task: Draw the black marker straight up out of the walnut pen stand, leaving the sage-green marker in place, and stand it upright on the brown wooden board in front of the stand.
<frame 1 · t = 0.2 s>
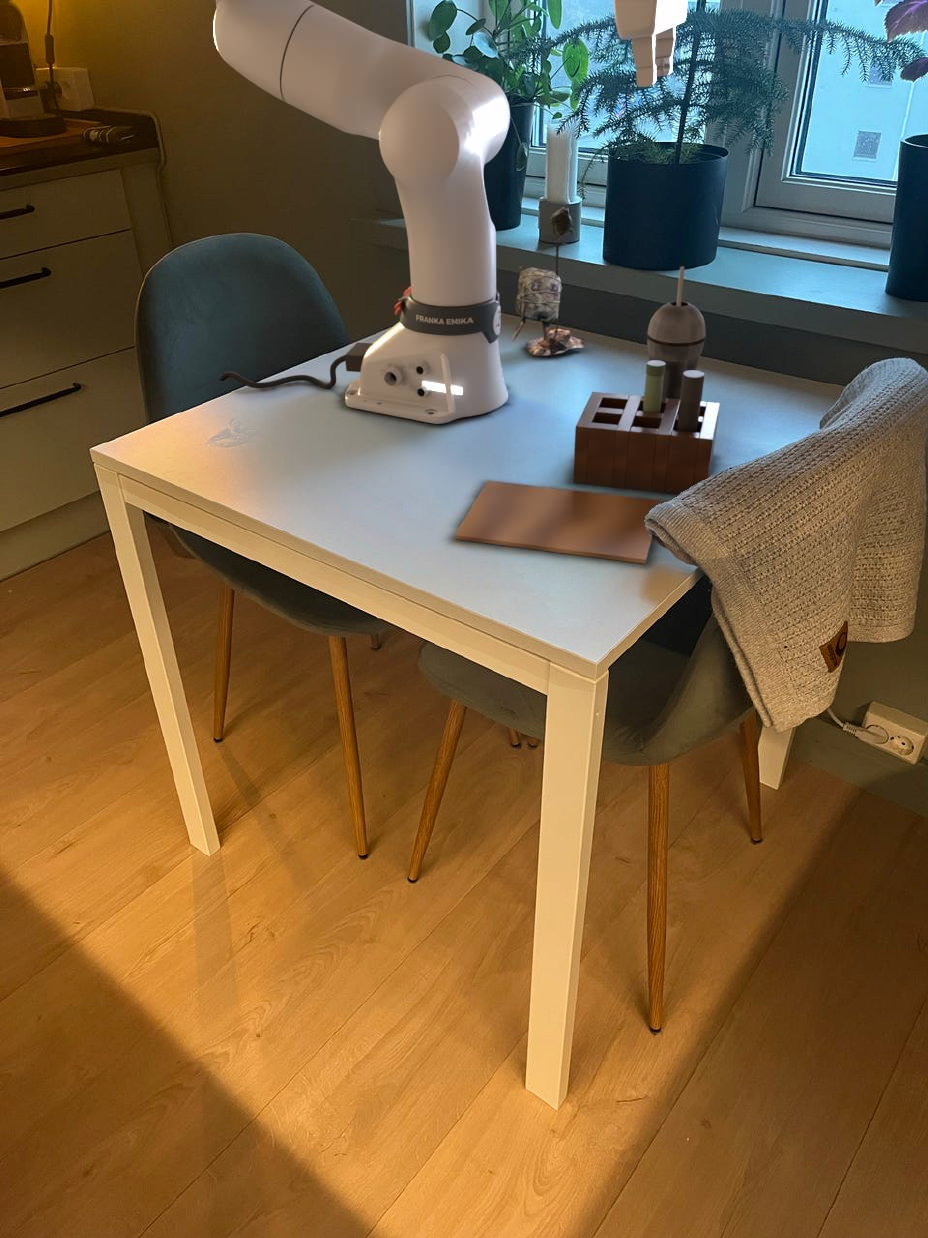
hand: (655, 80, 104), 39 cm above the table, tool pointing down, fingers open, 8 cm apart
beverage cup: (666, 425, 124), on the table
sage marker: (646, 461, 115), resting in pen stand
brown wooden board: (560, 521, 103), on the table
pen stand: (644, 469, 113), on the table
mottled grey tall piece: (547, 350, 148), on the table
black marker: (680, 482, 110), resting in pen stand
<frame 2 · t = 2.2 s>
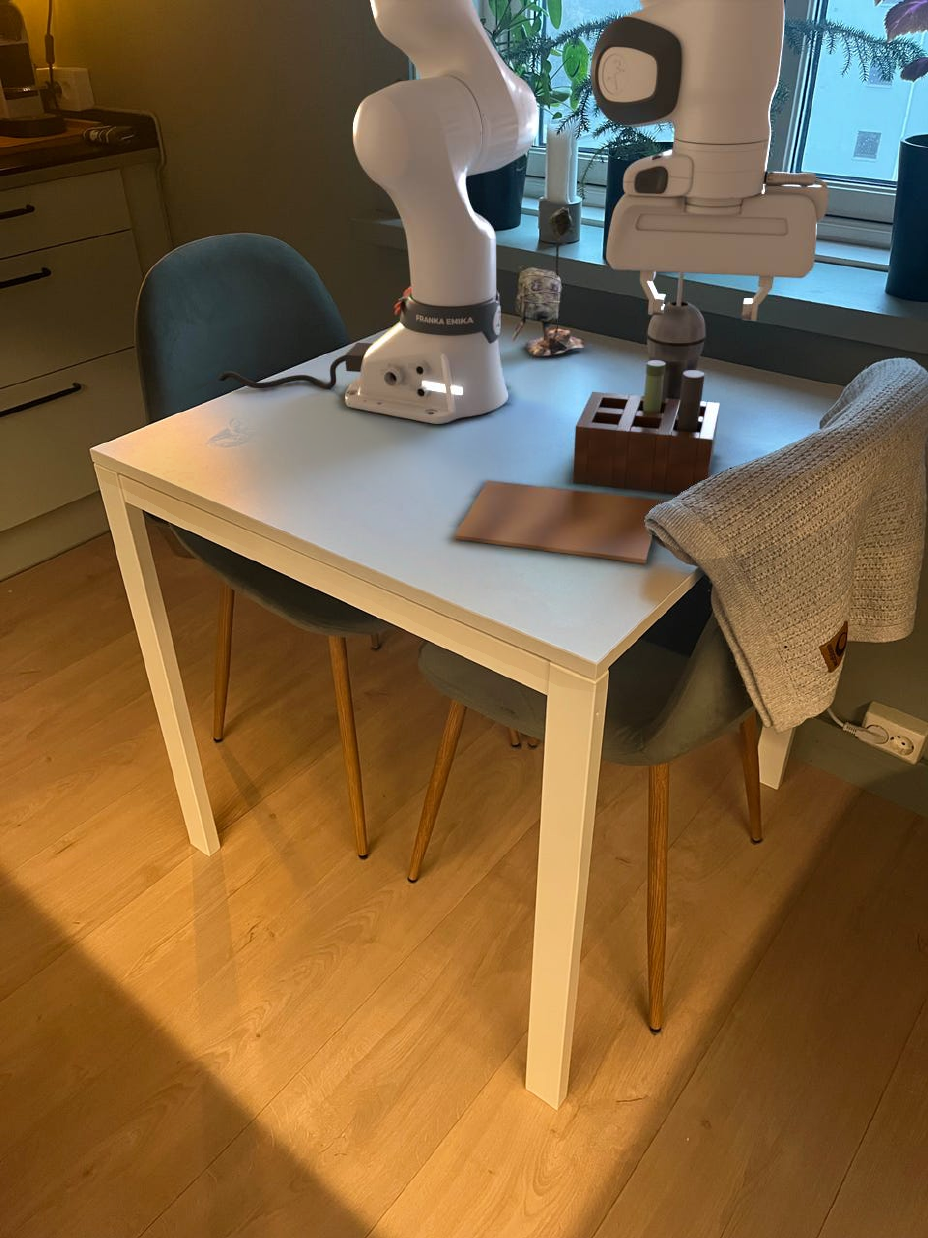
hand: (701, 316, 99), 19 cm above the table, tool pointing down, fingers open, 8 cm apart
nothing on the table moved.
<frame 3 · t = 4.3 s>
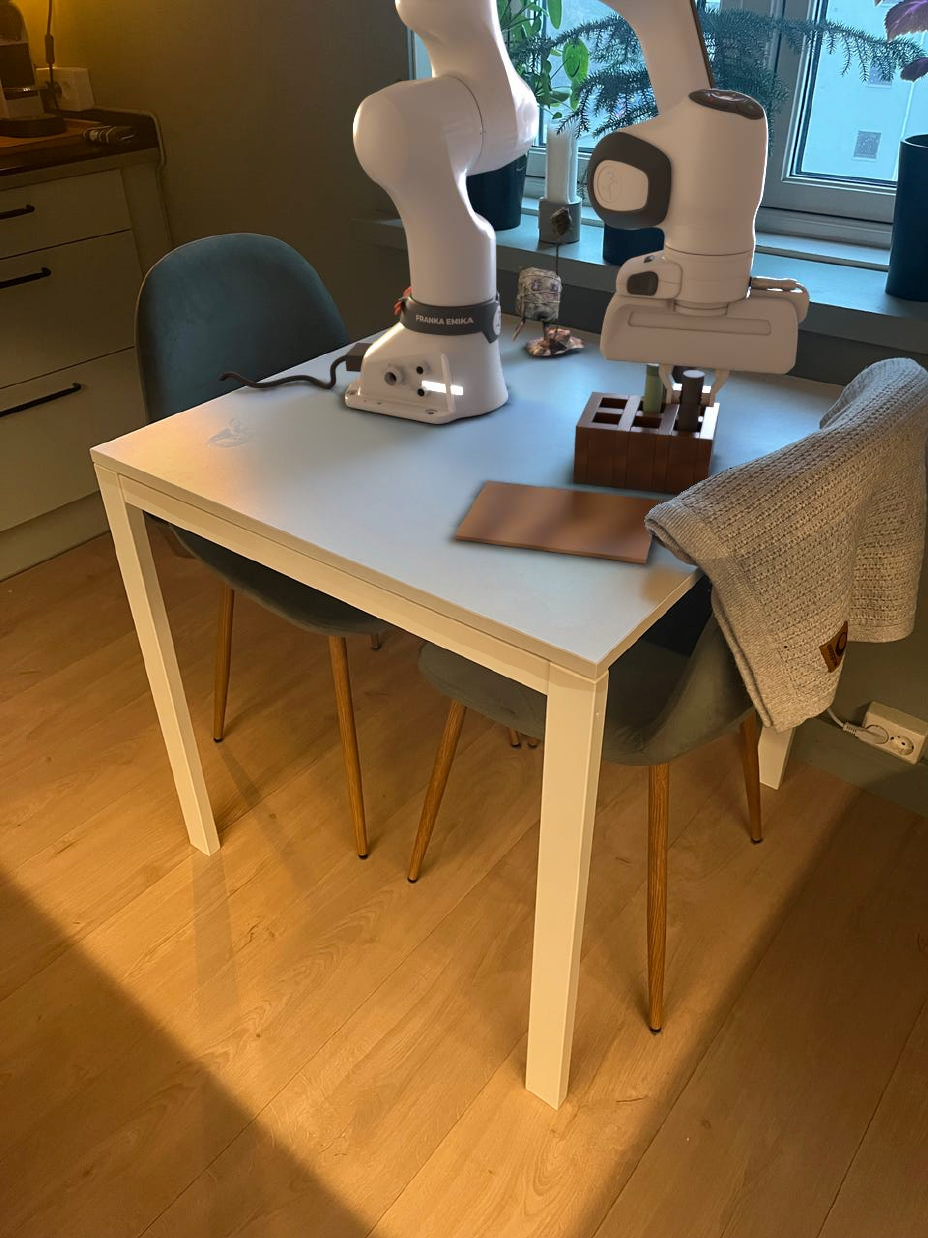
hand: (689, 403, 105), 10 cm above the table, tool pointing down, fingers closed on black marker, 2 cm apart
black marker: (680, 482, 110), resting in pen stand, touching gripper
everything else where it was.
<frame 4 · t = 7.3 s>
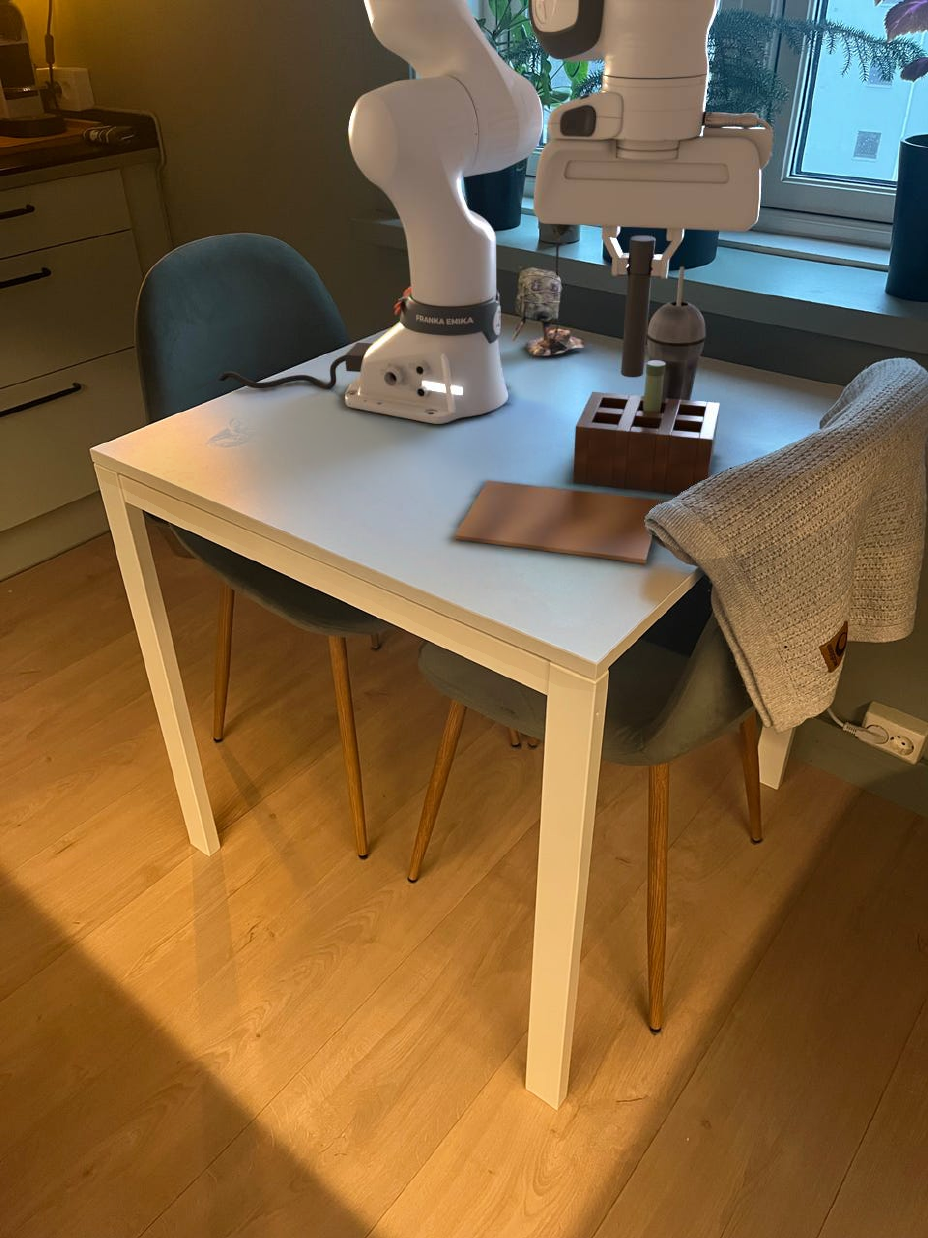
hand: (639, 275, 91), 25 cm above the table, tool pointing down, fingers closed on black marker, 2 cm apart
black marker: (632, 373, 96), point 16 cm above the table, touching gripper
everything else where it was.
when the fingers open (10 cm above the table, at t = 10.3 s): black marker stays where it is, resting on brown wooden board.
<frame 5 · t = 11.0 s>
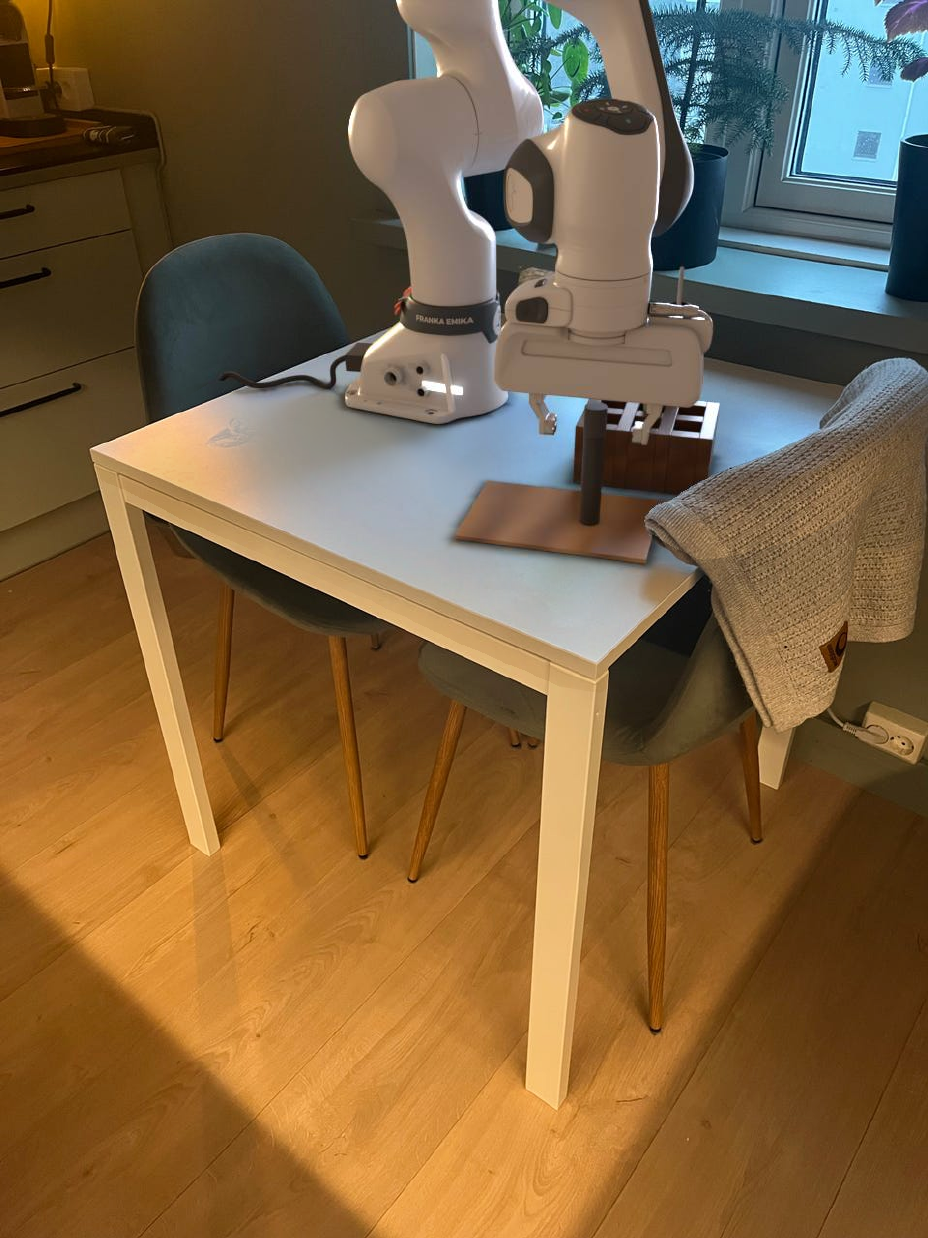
hand: (593, 437, 97), 10 cm above the table, tool pointing down, fingers open, 8 cm apart
black marker: (589, 521, 102), resting on brown wooden board
everything else where it was.
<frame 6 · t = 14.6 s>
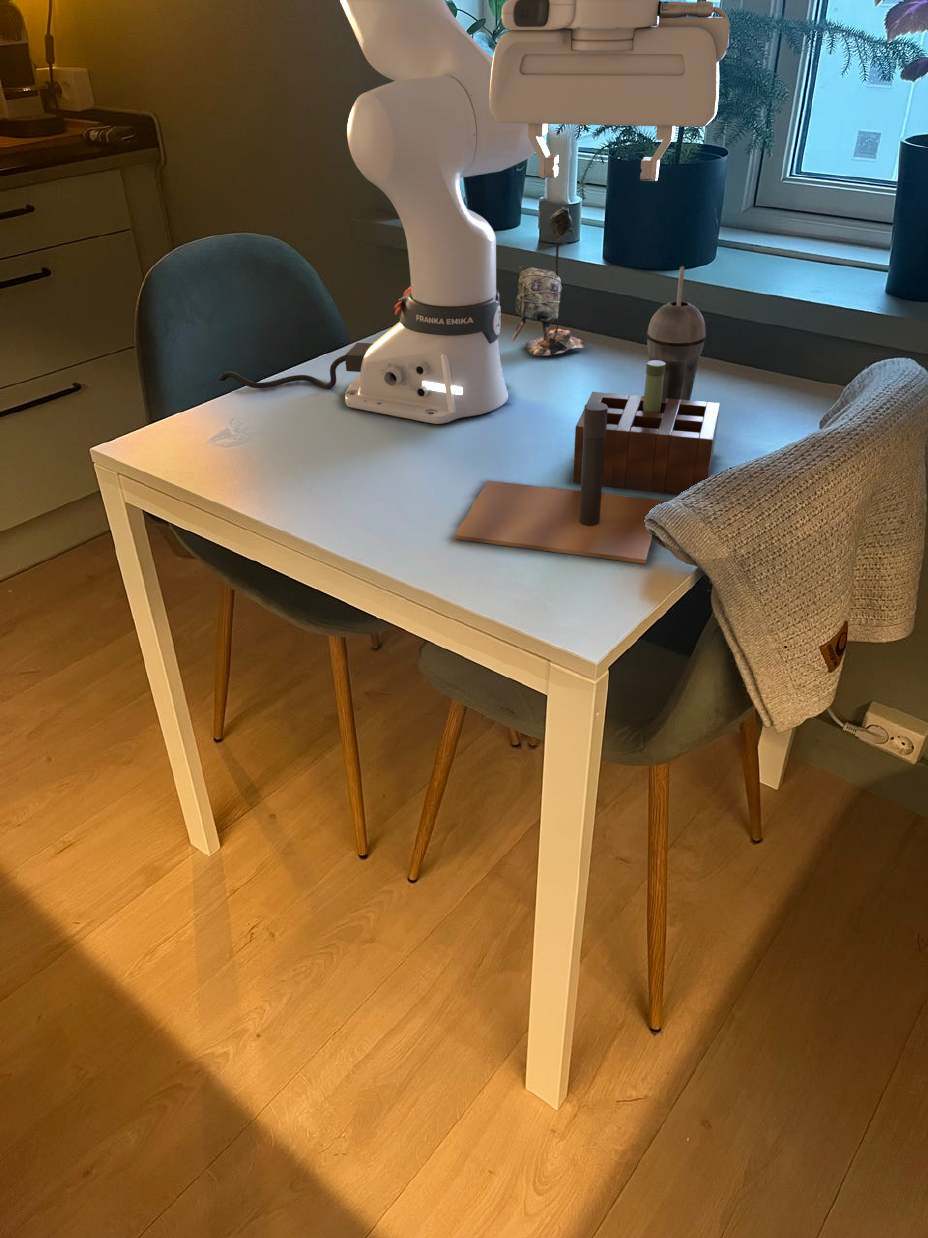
hand: (598, 178, 89), 33 cm above the table, tool pointing down, fingers open, 8 cm apart
nothing on the table moved.
at the end: black marker inside the target area on the brown wooden board (3.1 cm from its centre), point 0.5 cm above the brown wooden board's base; the gripper is holding nothing; sage marker moved 0.0 cm from its start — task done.
